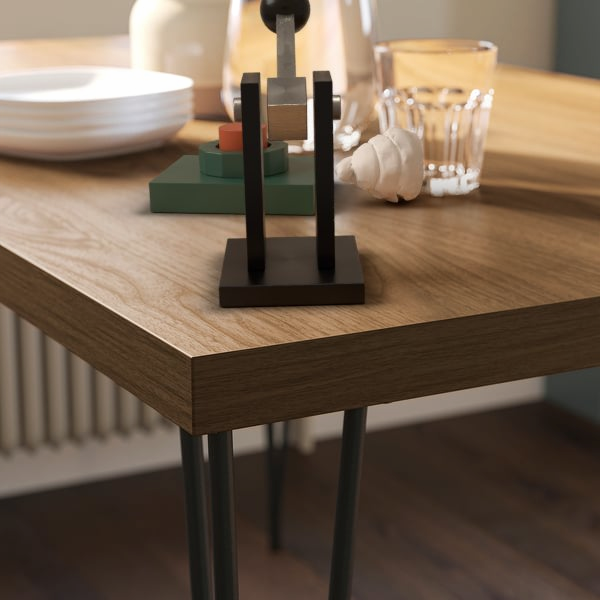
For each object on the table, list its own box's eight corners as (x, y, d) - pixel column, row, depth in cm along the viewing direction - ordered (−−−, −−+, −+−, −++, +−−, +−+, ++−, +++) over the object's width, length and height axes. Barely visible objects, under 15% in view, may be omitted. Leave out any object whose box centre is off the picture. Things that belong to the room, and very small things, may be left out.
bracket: (228, 256, 74) (219, 67, 70) (354, 253, 74) (353, 63, 70) (219, 307, 65) (209, 91, 61) (365, 303, 65) (363, 87, 61)
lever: (260, 19, 76) (258, -26, 74) (310, 18, 76) (309, -27, 74) (259, 147, 66) (257, 99, 64) (316, 146, 66) (316, 98, 64)
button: (271, 145, 89) (270, 122, 89) (262, 154, 86) (261, 130, 86) (225, 144, 90) (224, 122, 89) (214, 154, 87) (213, 130, 86)
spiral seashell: (327, 197, 89) (326, 125, 87) (403, 191, 90) (404, 120, 88) (345, 214, 84) (344, 138, 82) (426, 208, 85) (426, 133, 83)
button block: (332, 183, 93) (332, 133, 92) (313, 215, 84) (312, 159, 82) (185, 181, 95) (182, 132, 94) (150, 212, 85) (146, 158, 84)
